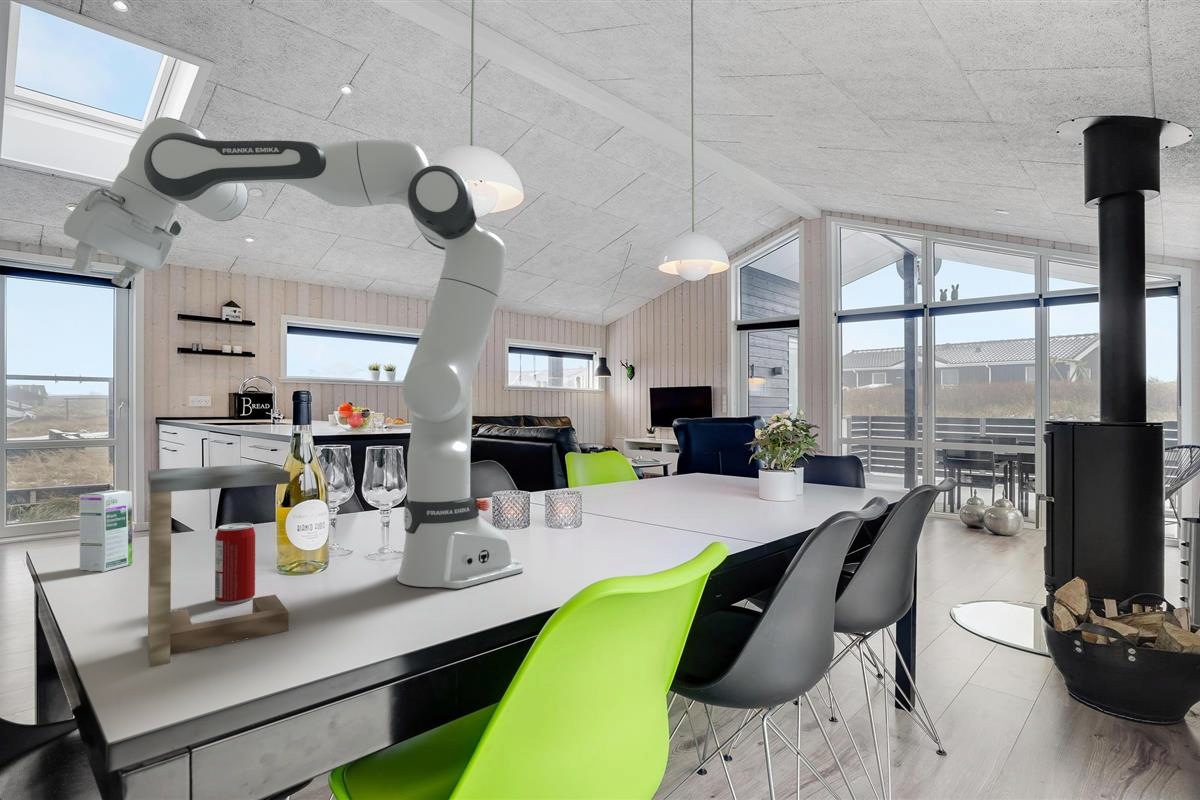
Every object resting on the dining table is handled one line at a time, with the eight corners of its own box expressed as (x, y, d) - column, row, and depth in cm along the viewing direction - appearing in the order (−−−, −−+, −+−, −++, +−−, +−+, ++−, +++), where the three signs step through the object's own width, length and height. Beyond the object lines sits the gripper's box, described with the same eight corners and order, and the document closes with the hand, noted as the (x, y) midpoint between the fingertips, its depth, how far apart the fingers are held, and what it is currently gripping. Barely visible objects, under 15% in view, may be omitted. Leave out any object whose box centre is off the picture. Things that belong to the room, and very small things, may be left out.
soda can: (263, 596, 100) (263, 522, 100) (232, 606, 95) (233, 528, 95) (237, 592, 102) (238, 520, 102) (206, 602, 96) (207, 526, 97)
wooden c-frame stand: (269, 608, 94) (270, 463, 94) (289, 637, 82) (290, 472, 82) (146, 629, 85) (148, 469, 85) (149, 666, 73) (151, 480, 73)
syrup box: (103, 572, 114) (104, 494, 114) (77, 570, 115) (78, 493, 115) (132, 564, 119) (133, 489, 120) (107, 563, 121) (108, 489, 121)
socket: (275, 611, 93) (275, 594, 93) (288, 630, 85) (288, 612, 85) (160, 631, 84) (160, 613, 84) (163, 655, 76) (164, 635, 76)
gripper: (117, 192, 95) (73, 272, 94) (188, 233, 115) (153, 299, 114) (77, 173, 94) (32, 253, 93) (156, 218, 115) (120, 284, 114)
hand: (99, 279), depth 104 cm, fingers open, 8 cm apart
